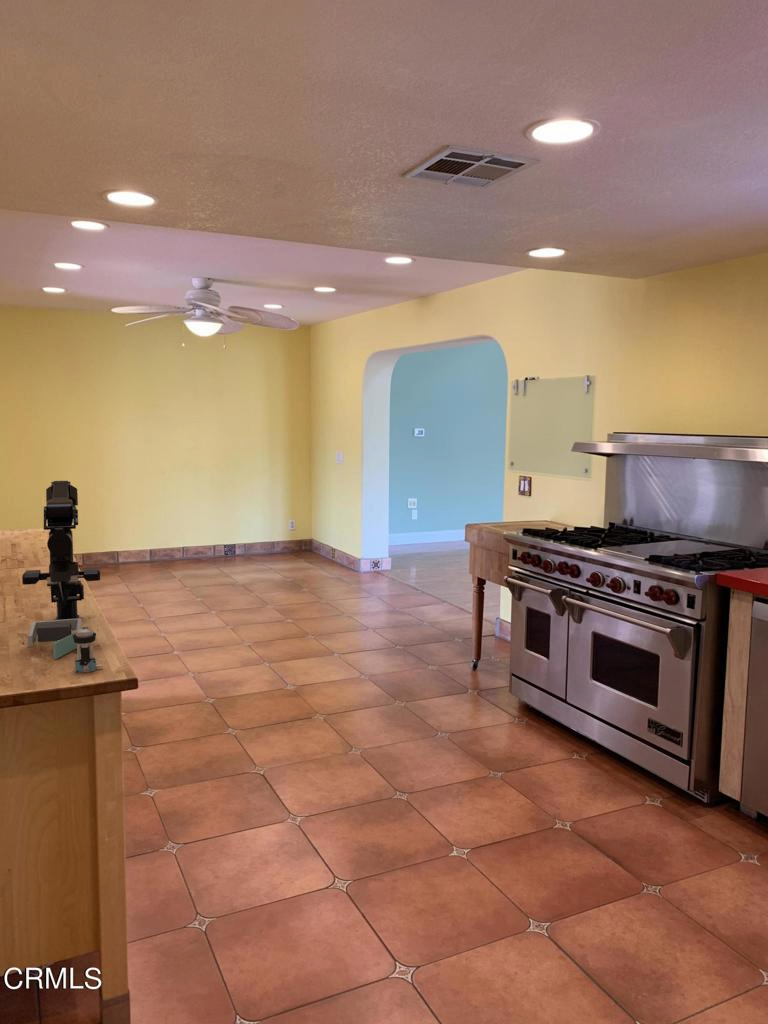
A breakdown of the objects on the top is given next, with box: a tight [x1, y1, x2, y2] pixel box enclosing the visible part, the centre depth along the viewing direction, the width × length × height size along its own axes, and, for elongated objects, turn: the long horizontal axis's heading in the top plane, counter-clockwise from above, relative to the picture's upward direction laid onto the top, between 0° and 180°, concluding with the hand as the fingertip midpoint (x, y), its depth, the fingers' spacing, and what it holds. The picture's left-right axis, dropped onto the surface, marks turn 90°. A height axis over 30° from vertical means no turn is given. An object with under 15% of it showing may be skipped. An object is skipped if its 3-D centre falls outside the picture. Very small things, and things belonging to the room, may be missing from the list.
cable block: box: [36, 622, 73, 643], centre depth 212 cm, size 5×8×4 cm, turn 105°
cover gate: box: [52, 631, 81, 660], centre depth 200 cm, size 1×13×4 cm, turn 170°
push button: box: [73, 628, 104, 674], centre depth 186 cm, size 7×5×10 cm
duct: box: [27, 617, 89, 648], centre depth 212 cm, size 17×15×4 cm
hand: (63, 607), depth 202 cm, fingers closed
